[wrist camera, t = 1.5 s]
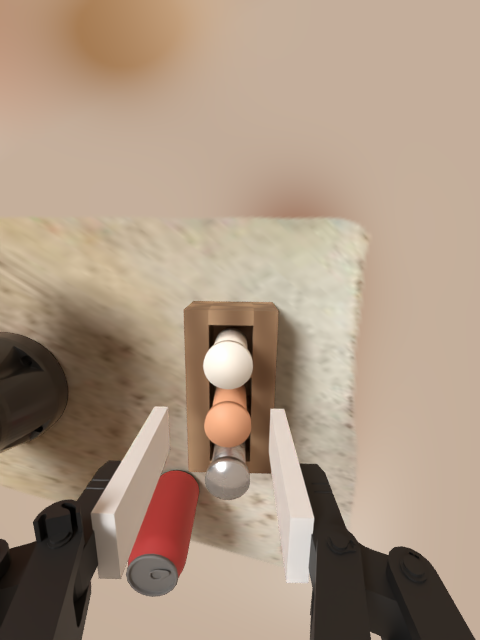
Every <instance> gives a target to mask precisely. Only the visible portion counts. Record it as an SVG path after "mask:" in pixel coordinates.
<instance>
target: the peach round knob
mask: <svg viewBox="0 0 480 640" xmlns="http://www.w3.org/2000/svg"><path fill="white" fill-rule="evenodd" d="M204 429H205V433H206V435H207V437H208V438H209V439H210V440H211V441H212V442H213V443H214V444H216V445H218V446H221V447H235V446H238V445H240V444H242V443H243V442H244V441H245V440H246V439H247V438H248V437H249V435H250V432H251V418H250V414H249V413H248V411H247V406H246V388H245V386H244V385H242V386H240V387H238V388H235V389H222V388H219V387H216V391H215V396H214V401H213V406H212V407H211V408H210V410H209V411H208V413H207V415H206V419H205V423H204Z"/></svg>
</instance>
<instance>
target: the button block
mask: <svg viewBox="0 0 480 640" xmlns="http://www.w3.org/2000/svg"><path fill="white" fill-rule="evenodd" d="M278 313H279V311H278V310H277V308H276V307H275V305H274V304H273V302H214V301H193V302H192V303H191V304H190V305H189V306H188V307H186V308H185V309H184V335H185V368H186V400H187V433H188V465H189V472H206V471H207V468H208V466H209V465H210V463H211V462H212V458H213V451H214V445H215V444H214V443H213V442H212V441H211V440H210V439H209V438H208V437H207V435H206V433H205V429H204V423H205V419H206V415H207V413H208V411H209V410H210V408H211V407H212V406H213V401H214V396H215V391H216V386H215V385H213V384H212V383H211V382H210V381H209V380H208V379H207V377H206V375H205V373H204V369H203V363H204V359H205V356H206V354H207V352H208V350H209V349H210V348H211V347H212V346H213V345H214V343H215V340H216V337H217V335H218V334H219V333H220V332H221V331H222V330H224V329H227V328H235V329H238V330H240V331H241V332H242V333H243V334H244V335H245V337H246V339H247V349H248V351H249V352H250V354H251V357H252V361H253V370H252V374H251V376H250V378H249V380H248V381H247V382H246V383H245V384H244V386H245V388H246V406H247V411H248V413H249V414H250V418H251V432H250V435H249V437H248V438H247V439H246V440H245V460H246V465H247V467H248V469H249V473H271V465H270V457H269V433H270V410H271V409H274V399H275V378H276V356H277V334H278Z"/></svg>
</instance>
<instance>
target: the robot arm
mask: <svg viewBox="0 0 480 640" xmlns="http://www.w3.org/2000/svg"><path fill="white" fill-rule="evenodd" d="M67 398H68V387H67V382H66V378H65V375H64V373H63V371H62V369H61V367H60V365H59V363H58V362H57V361H56V359H55V358H54V357H53V356H52V355H51V353H50V352H48V351H47V350H46V349H45V348H44V347H43V346H41V345H40V344H38V343H37V342H35V341H33V340H31V339H29V338H27V337H25V336H22V335H18V334H14V333H8V332H0V453H2V452H4V451H6V450H9V449H11V448H14V447H16V446H18V445H21V444H23V443H25V442H28V441H30V440H32V439H34V438H36V437H38V436H40V435H41V434H42V433H44V432H45V431H46V430H47V429H48V428H50V427H51V426H52V425H53V424H54V423H55V422H56V421H57V420H58V419H59V418H60V417H61V415H62V413H63V412H64V409H65V407H66V403H67ZM169 451H170V436H169V414H168V407H157V406H155V407H154V408H153V410H152V412H151V413H150V415H149V417H148V418H147V420H146V422H145V423H144V425H143V427H142V428H141V430H140V432H139V433H138V435H137V437H136V438H135V440H134V442H133V443H132V445H131V447H130V448H129V450H128V452H127V453H126V455H125V457H124V458H123V460H122V461H108V462H107V463H106V464H104V465H103V466H102V467H101V468H99V469H98V471H97V472H96V474H95V475H94V477H93V478H92V481H90V483H89V484H88V486H87V487H86V489H85V490H84V491H83V493H82V494H81V496H80V497H79V499H78V500H77V501H74V500H62V501H59V502H56V503H54V504H52V505H50V506H49V507H47V508H45V509H44V510H43V511H42V512H41V513H40V514H38V516H37V517H36V519H35V520H34V521H33V525H34V530H35V536H36V541H35V542H32V543H29V544H26V545H22V546H18V547H14V548H11V549H9V546H8V543H7V542H6V541H5V540H3V539H0V640H82V634H83V630H84V625H85V620H86V615H87V610H88V605H89V600H90V595H91V578H92V576H93V574H94V572H95V570H96V568H97V567H98V574H99V578H107V579H121V577H122V575H123V572H124V569H125V567H126V564H127V561H128V559H129V556H130V554H131V551H132V548H133V546H134V543H135V540H136V538H137V535H138V533H139V530H140V527H141V525H142V522H143V519H144V517H145V514H146V512H147V509H148V506H149V504H150V501H151V498H152V496H153V493H154V491H155V488H156V485H157V483H158V480H159V477H160V475H161V472H162V470H163V467H164V464H165V462H166V459H167V456H168V454H169ZM269 457H270V465H271V472H272V480H273V487H274V495H275V502H276V510H277V517H278V525H279V532H280V540H281V547H282V555H283V562H284V570H285V577H286V583H308V581H309V573H310V578H311V582H312V587H313V591H312V601H311V611H310V615H311V625H310V640H371V637H370V632H372V633H375V634H377V635H379V636H381V639H382V640H475V638H474V637H473V635H472V633H471V631H470V629H469V628H468V626H467V624H466V622H465V621H464V619H463V617H462V615H461V614H460V612H459V610H458V609H457V607H456V605H455V603H454V601H453V600H452V598H451V596H450V595H449V593H448V591H447V589H446V588H445V586H444V584H443V582H442V581H441V579H440V577H439V575H438V574H437V572H436V570H435V569H434V568H433V566H432V565H431V564H430V562H429V561H428V560H427V559H426V558H424V557H423V556H422V555H421V554H419V553H418V552H416V551H414V550H412V549H410V548H406V547H394V548H393V549H392V550H391V551H390V552H389V555H386V554H383V553H380V552H377V551H374V550H371V549H369V548H367V547H365V546H363V545H361V544H360V543H358V541H357V540H356V538H355V537H354V536H353V534H351V533H350V532H349V531H348V530H347V528H346V526H345V524H344V521H343V519H342V516H341V513H340V511H339V508H338V506H337V503H336V500H335V498H334V495H333V494H332V490H331V487H330V485H329V482H328V479H327V477H326V474H325V472H324V471H323V470H322V469H321V468H320V467H319V466H318V465H317V464H299V461H298V457H297V454H296V450H295V446H294V443H293V439H292V435H291V432H290V428H289V424H288V421H287V417H286V414H285V410H284V409H271V410H270V433H269Z"/></svg>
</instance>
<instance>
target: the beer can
mask: <svg viewBox="0 0 480 640" xmlns="http://www.w3.org/2000/svg"><path fill="white" fill-rule="evenodd" d="M198 495H199V487H198V484H197V482H196V480H195V479H194V478H193V477H192V476H191V475H190V474H188V473H186V472H183V471H178V470H177V471H169V472H167V473H164V474H163V475H162V476H160V477H159V480H158V483H157V485H156V488H155V491H154V493H153V496H152V498H151V501H150V504H149V506H148V509H147V512H146V514H145V517H144V519H143V522H142V525H141V527H140V530H139V533H138V535H137V538H136V540H135V543H134V546H133V548H132V551H131V554H130V556H129V559H128V568H127V573H126V576H127V581H128V583H129V584H130V586H131V587H132V588H133V589H134V590H135V591H137V592H138V593H141V594H143V595H146V596H152V597H153V596H161V595H165V594H167V593H168V592H170V591H171V590H173V589H174V587H175V586H176V585H177V581H178V577H179V576H180V574H181V572H182V570H183V568H184V566H185V563H186V558H187V554H188V548H189V543H190V538H191V533H192V527H193V522H194V517H195V511H196V506H197V501H198Z"/></svg>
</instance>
